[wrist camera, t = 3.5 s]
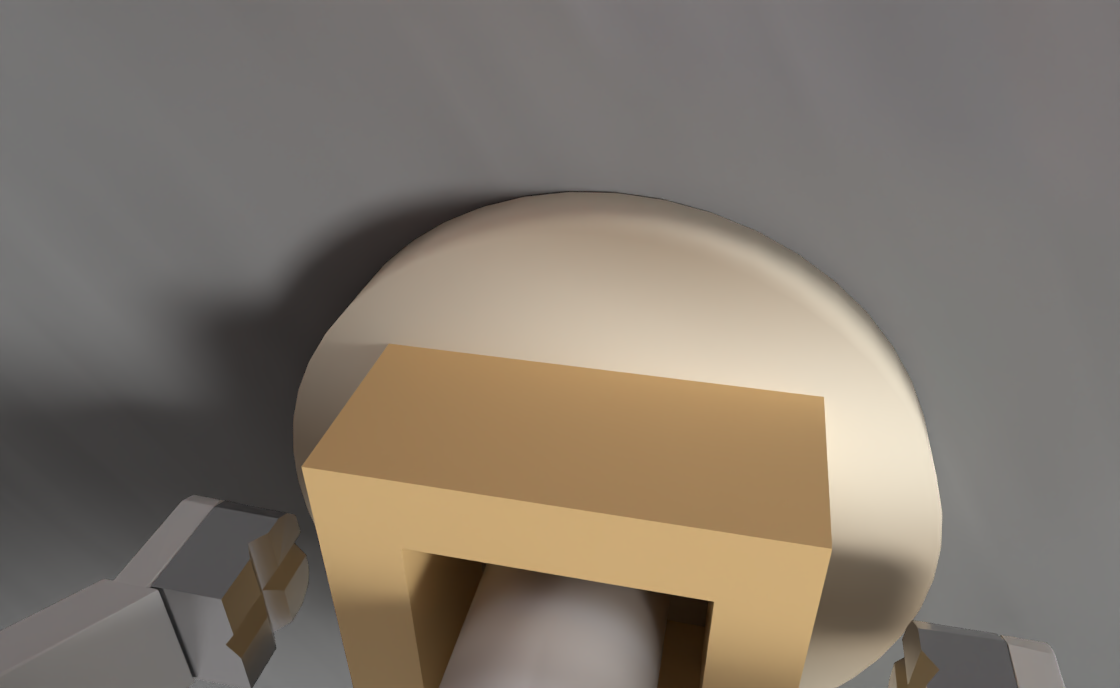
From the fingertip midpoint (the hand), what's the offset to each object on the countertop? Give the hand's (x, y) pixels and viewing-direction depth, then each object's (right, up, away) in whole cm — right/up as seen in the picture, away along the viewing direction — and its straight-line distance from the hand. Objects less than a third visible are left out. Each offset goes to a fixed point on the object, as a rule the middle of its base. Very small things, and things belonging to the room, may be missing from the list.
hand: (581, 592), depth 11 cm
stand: (0, +1, +2) cm, 2 cm away
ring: (0, +1, +1) cm, 1 cm away
